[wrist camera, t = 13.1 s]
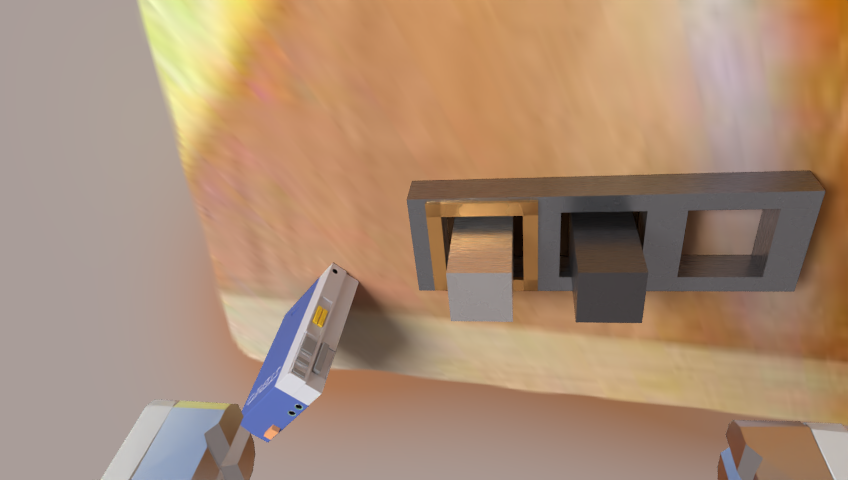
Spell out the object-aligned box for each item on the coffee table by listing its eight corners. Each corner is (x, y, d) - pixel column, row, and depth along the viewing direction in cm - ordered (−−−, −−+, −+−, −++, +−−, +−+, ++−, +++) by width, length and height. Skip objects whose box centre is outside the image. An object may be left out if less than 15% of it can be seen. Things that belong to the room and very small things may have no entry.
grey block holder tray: (810, 170, 40) (827, 193, 38) (781, 268, 44) (795, 294, 42) (412, 181, 44) (406, 202, 42) (423, 269, 49) (418, 292, 46)
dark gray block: (629, 200, 43) (648, 272, 36) (624, 247, 45) (641, 322, 39) (569, 201, 43) (578, 272, 37) (568, 247, 46) (576, 322, 39)
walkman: (312, 330, 54) (266, 447, 45) (285, 314, 53) (233, 429, 44) (361, 280, 50) (323, 396, 40) (333, 261, 49) (287, 375, 40)
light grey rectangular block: (512, 202, 44) (511, 272, 38) (513, 248, 46) (512, 321, 40) (456, 203, 45) (446, 273, 38) (460, 248, 47) (450, 321, 41)
